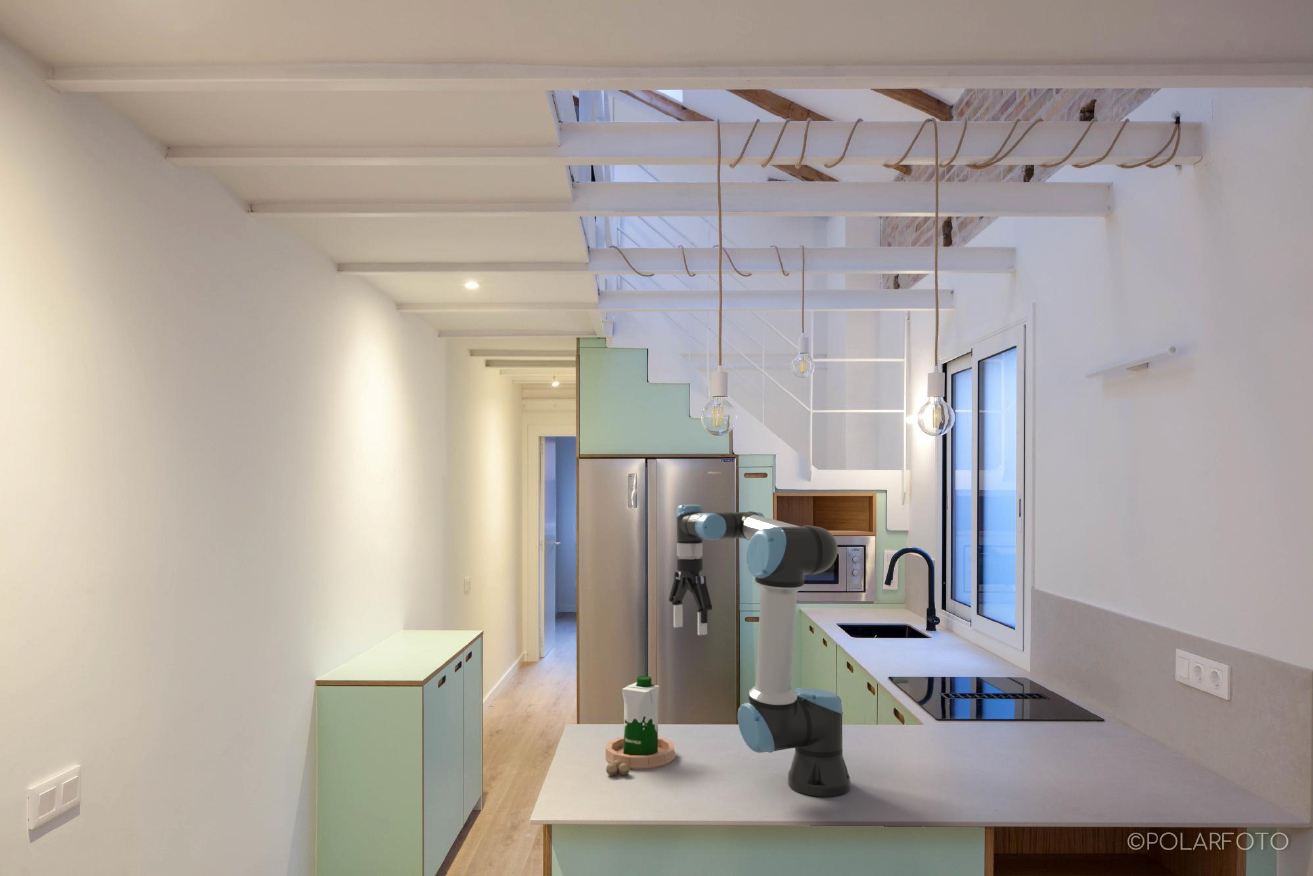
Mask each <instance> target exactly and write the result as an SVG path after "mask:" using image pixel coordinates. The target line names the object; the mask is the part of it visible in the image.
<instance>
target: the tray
mask: <svg viewBox="0 0 1313 876" xmlns="http://www.w3.org/2000/svg"><path fill="white" fill-rule="evenodd" d="M623 748H624V736H621V737H617V738H614V739H611V740H610V741H608V742H607V743H606V746H605V755H604V756H605V761H606V762H607V763H608V764H610V763H613V761H615V760H621V761H622V763H627V764H628V765H629V767H630V770H651V769H653V770H654V769H657V768H663V767H665V766H668V765H670V764H672V763H673V762H674V761H675V759H676V752H675V743H674V742H673V741H671V740H669V739H667V738H664V737H660V736H658V752H656V753H655V754H653V755H647V756H639V755H627V754H623Z"/></svg>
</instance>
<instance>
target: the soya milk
mask: <svg viewBox="0 0 1313 876" xmlns="http://www.w3.org/2000/svg"><path fill="white" fill-rule="evenodd" d="M621 691H622V697H623V703H624V704H623V711H624V712H623V737H624V748H623V754H627V755H639V756H647V755H653V754H655V753H656V752H658V737H659V693H660V685H658V684H657V685H656V684H653V683H652V677H651V676H647V675H646V676H645V675H643V676H642V675H641V676H638V677H637V678H636V682H633V683H632V684H629V685H626V687H624V688H621Z"/></svg>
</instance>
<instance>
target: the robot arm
mask: <svg viewBox="0 0 1313 876" xmlns="http://www.w3.org/2000/svg"><path fill="white" fill-rule="evenodd" d="M676 508H677V512H676V556H677V559H676V570H677V571H675V572H674V575H673V577H674V578H673V579H674V580H673V583H672V586H671V591H670V594H669V597H668V601H669V602H670V603H672V605H673V614H672V615H673V628H674V629H675V628H683V627H684V626H683V623H684V622H683V620H684V619H683V618H684V617H683V613H684V612H683V610H684V609H683V607H684V606H683V601H684V598H685V595H686V593H687V591H689V592H690V593H692V595H693V598H694V601H695V603H696V606H697V608H698V610H697V635H698V636H705V635H708V612H710V611H712V610H713V605H712V602H711V598H710V597H711V596H710V593H709V589H708V585H707V576H706V575H700V572H702V571H703V570H704V569H703V568H704V566H703V565H704V564H703V562H704V560H703V559H702V558H703V548H704V547H703V540H705V541H717V540H724V539H725V540H726V539H727V540H728V539H729V540H730V539H743V540H747V541H749V542H748V544H747V547H746V559H745V560H746V564H747V569H748V571H749V572H750V573H749V574H750V575H752V576H753V577H755V579H754V583H755V584H756V585H757V586H758V587H759V589H760V600H759V601H760V602H759V618H758V619H759V620H758V622H759V623H758V635H757V636H758V637H757V651H756V652H757V653H756V656H757V657H756V671H755V673H756V675H755V685H754V686H753V687H752V688H751V689H749V691H748V702H744V703H742V704H741V705H740V706H739V707H738V709H737V710H738V711H737V724H738V728H739V732H740V735H741V737H742V739H743V742H745V745H746V746H747V747H748V748H749V749H750V750H751V751H753V752H755V753H757V754H758V753H759V754H760V753H761V754H762V753H774V752H778V751H784V750H789V749H794V754H793V758H792V761H791V766H790V770H788V772H787V773H788V774H787V785H788V786H789V787H790V788H791V790H793V791H795V792H798V793H799V794H803V795H806V796H807V795H808V796H813V797H822V798H823V797H825V798H827V797H836V796H841V795H844V794H847V793H848V792H849V791H850V790H851V777H850V775H849V772H848V769H847V768H848V767H847V765H846V761H845V759H844V756H843V755H844V754H843V714H844V711H843V704H842V699H841V697H840V696H839V695H838V694H836V693H834V692H831V691H828V690H825V689H821V688H820V689H819V688H813V687H798V688H795V689H794V690H793V689H792V684H793V681H792V680H793V669H794V667H793V666H794V665H793V664H794V650H795V632H796V631H795V630H796V618H797V617H796V613H797V612H796V611H797V596H798V592H799V591H800V590H801V589H802V588H803V587H804V586H805V576H807V575H817V574H821V573H823V572H825V571H827V570H828V569H830V568H831V566H832V565H833V564H834V563H835V561H836V559H837V557H838V550H839V547H838V543H837V540H836V538H835V536H834V535H833V534H832V532H830V531H829V530H827V529H826V528H824V527H820V526H814V525H811V524H810V525H809V524H808V525H806V524H805V525H803V526H800V525H795V524H791V523H787V522H785V521H780V520H777V519H773V518H770V517H766V516H765V515H764V514H763V513H762V512H759V511H737V512H734V511H733V512H704V511H703V507H702V505H700V504H679V505H678V506H677V507H676Z"/></svg>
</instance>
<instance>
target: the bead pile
mask: <svg viewBox="0 0 1313 876" xmlns="http://www.w3.org/2000/svg"><path fill="white" fill-rule="evenodd" d="M605 770H606V774H607V775H609V776H612V777H613V776H615V775H617V773H619V774H620V775H621V776H627V775H628V774H629V773H630V770H631V769H630V767H629V765H628V764H627V763H622V761H621V760H615V761H613V763H608V764H607V766H606V768H605Z"/></svg>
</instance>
